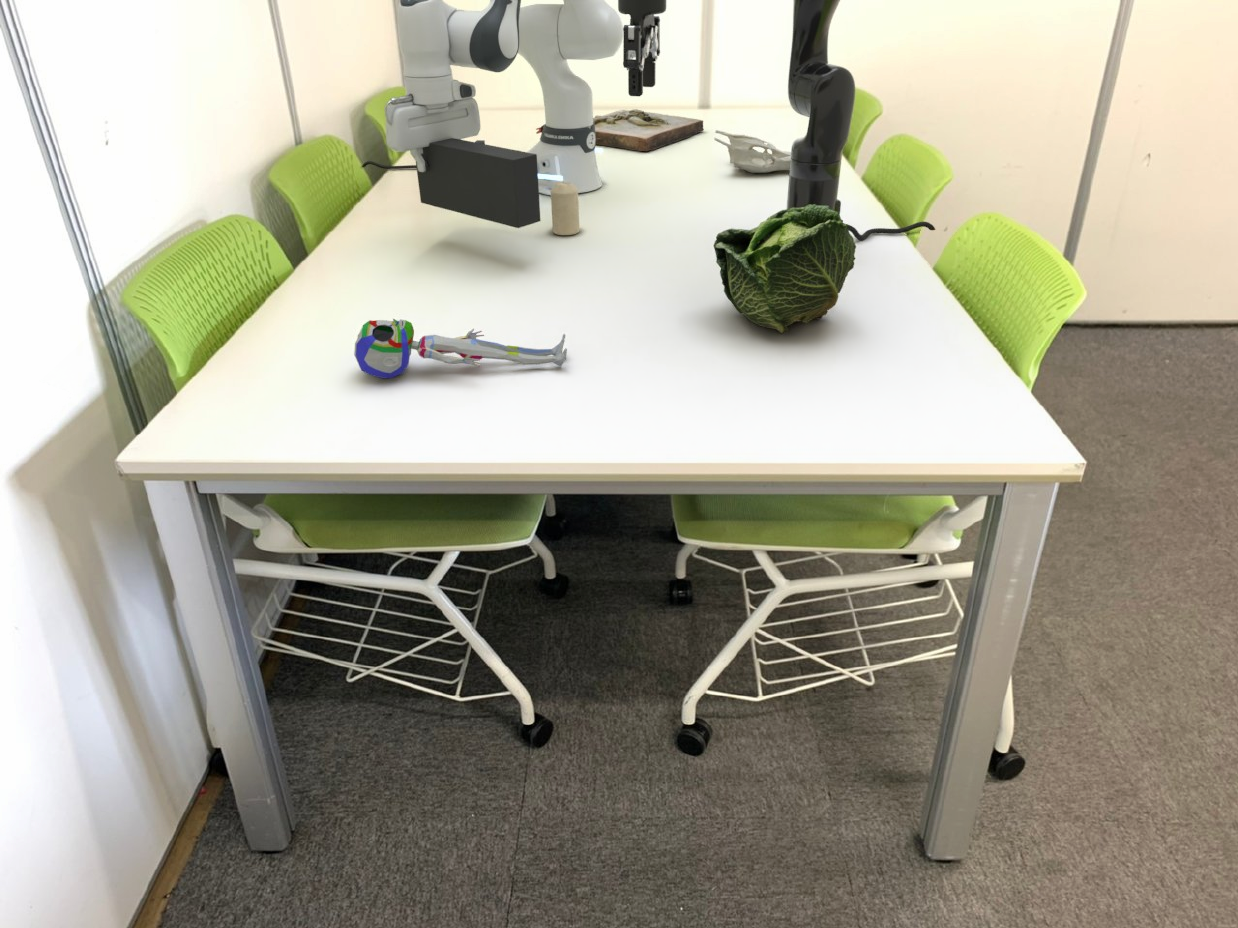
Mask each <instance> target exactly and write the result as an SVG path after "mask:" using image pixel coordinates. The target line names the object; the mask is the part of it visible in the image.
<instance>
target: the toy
mask: <svg viewBox="0 0 1238 928" xmlns="http://www.w3.org/2000/svg"><path fill="white" fill-rule="evenodd" d="M474 331H475V328H472V329H471V330H469V331H468V332H467V333H466V334H465V335H463V336H458V337H449V336H448V337H447V336H442V335H439V334H428V335H423V336H421V338H420V339H419V341H417V340H414V336H415V329H414V326H413V324H412V322H410V321H408V320H407V319H399V320H397V319H395V318H392V320H387V319H379V320H368V321H367V322H365V323H364V324H362V326H361V329H360V331H359V333H358V334H357V338H356V340H355V342H354V354H353V355H354V357H355V359H356V362H357V364H358V366H359V369H360V370H361V372H364V373H366V374H367V375H370V376H373V377H377V378H382V379H383V378H384V379H392V378H394V377H396V376H398V375H400V374H401V375H402V374H403V372H404V371H405V370H406V368H407V367H408V366H409V364H410V357H411V355H412V350H415V351H417V353H418V356H419V357H421V358H422V359H430V360H434V361H438V362H442V363H444V364H449V365H458V364H459V365H461V364H465V365H471V366H477V367H479V368H480V367H481V366H482V365H483V363H482V362H478V361H480V360H482V359H487V360H488V359H489V360H503V361H509V362H514V363H517V364H520V365H528V366H529V365H542V364H550V363H553V364H555V365H557V366H559V367H562V366H563V364H564V362H565V361H566V360H567V357H568V355H567V353H568V348H566V347H565V348H564V345H565V340H566V334H565V333H563V334H562V338H561V340H560V341H559V343H558V344H556V345H555V346H554V347H552V348H533V347H532V348H531V347H523V346H518V345H517V346H516V345H504V344H501V343H498V342H494V341H488V340H482V339H478V338H479V337H480V338H481V337H485V334H480V333H482V332H483V331H482V330H479V331H476V332H474ZM563 349H564V350H563ZM453 353H455V354H457V355H459V357H458V356H455V355H448V354H453ZM445 354H447V355H445Z"/></svg>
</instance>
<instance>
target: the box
mask: <svg viewBox="0 0 1238 928" xmlns="http://www.w3.org/2000/svg"><path fill="white" fill-rule="evenodd" d="M527 152H528V151H521V150H516V149H511V148H505V147H502V146H501V147H500V146H496V145H490V144H486V143H485V144H481V143H476V141H471V140H465V139H461V140H460V139H455V138H451V139H446V140H441V141H437V142H432V143H429V146H428V147H423V154H421V156H422V157H423V159H424V161H428V162H429V171H426V172H419V171H418V167H417V162H416V161H415V165H416V167H417V168H416V174H417V183H418V190H419V191H418V192H419V199H420V203H421V204H425V205H428V206H432V207H436V208H440V209H444V210H447V211H450V212H455V213H459V214H463V215H466V216H470V217H474V218H477V219H482V220H485V221H489V222H493V223H497V224H501V225H505V226H509V227H511V228H515V229H521V228H523V227H527V226H530V225H533V224H536V223H539V222H541V205H540V193H539V186H538V168H537V154H533V153H527Z"/></svg>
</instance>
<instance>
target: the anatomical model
mask: <svg viewBox="0 0 1238 928" xmlns="http://www.w3.org/2000/svg"><path fill="white" fill-rule="evenodd" d="M714 133H715V134H719V135H722V136H725V137H727V138H728V139H729V143H727V142H725V141H723V140H721V139H719V138H716V137H714V141H716V142H717V143H720V144H722V145H723V146H726V147H727V151H728V154H729V164H730V165H731V164H733V165H734V167H735V168H736V169H738V170H741V169H742V170H744V171H747V172H748V173H753V174H763V173H765V174H767V173H771V172H777V171H790V160H791V151H783V150H780V149H778V148H777V147H776V146H775V145H774V144H772V143H770V142H768V141H765V140H763V139H761V138H758V137H754V136H751V135H750V136H749V135H746V134H734V133H729V132H726V131H722V130H715V132H714ZM754 148H762V149H764V151H763V152H761V151H758V150H756V149H754ZM768 150H770V151H771V153H769V152H768Z"/></svg>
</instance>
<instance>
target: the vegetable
mask: <svg viewBox="0 0 1238 928" xmlns="http://www.w3.org/2000/svg"><path fill="white" fill-rule="evenodd" d="M841 220H842V218H841V214H840V215H839V213H838V212H836V211H833V210H831V209H829V206H816V205H815V204H814V205H811V204H809V205H807V206H806V207H801V208H790V209H786V208H785V209H781V210H779V211H777V212H776V213H774V214H772V215H770V216H769V217H767V219H765V220H764V221H762V222H760V223H759V224H758V226H755V227H754V228H750V229H744V228H732V227H731V228H728V229H725V230H723V231H721V232H719V233H718V234H716V236H715V240H714V244H713V248H714V252H715V256H716V261H715V262H716V264H717V265H718V267H719V268H720V270H719V275H720V279H721V281H722V282H721V284H722V285H723V292H724V294H725V296H726V298H727V299H728V301H729V302H730V303H731V304H732V306H733V307H734V309H735V310H736V311H737V312H738V313H739V315H741V314H743V315H744V316H745V317H746V318H747V319H748V320H749V321H751V322H752V323H753V324H756V325H758V326H760V327H763V328H767V329H773V330H776V331H778V332H779V333H781V334H783V333H784V331H790V329H789V328H788V327H789V326H791V325H792V324H793V323H794V322H802V323H806V324H808V323H809V322H810V321H812V320H820V319H822V318H823V316H826V315H827V314H828V311H829V310H831V309H833V308H834V307H835V306H836V304H837V302H838V300H839V293H840V292H841V291H842V289H843V287H844V283H845V281H846V278H847V277H848V274H849V272H850V271H851V270H853V269H854V266H855V262H854V261H855V260H856V259H857V258H856V257H855V254H856V249H857V245H856V243H855V240H854V239H855V237H854V236H853V235H852V234H851V232H850V231H849V228H848V227H847V225H846V224H847V223H845V224H843V223H844V222H843V223H842V222H841Z"/></svg>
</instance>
